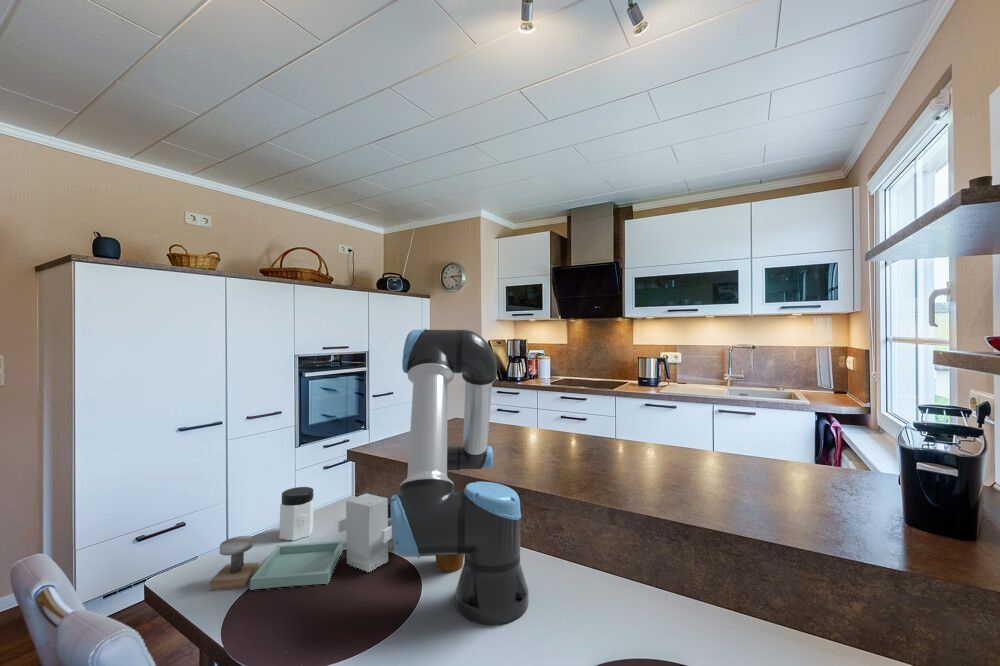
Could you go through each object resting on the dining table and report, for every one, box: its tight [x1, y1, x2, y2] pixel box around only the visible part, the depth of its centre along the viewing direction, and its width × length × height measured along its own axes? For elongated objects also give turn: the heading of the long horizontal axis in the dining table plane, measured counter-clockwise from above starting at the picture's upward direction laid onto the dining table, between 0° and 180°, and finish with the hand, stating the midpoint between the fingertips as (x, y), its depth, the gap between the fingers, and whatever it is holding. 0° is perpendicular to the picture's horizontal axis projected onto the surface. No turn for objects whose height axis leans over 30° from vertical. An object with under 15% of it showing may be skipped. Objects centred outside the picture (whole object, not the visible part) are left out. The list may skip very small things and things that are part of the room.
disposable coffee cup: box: [435, 554, 465, 573], centre depth 100 cm, size 10×10×12 cm
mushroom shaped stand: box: [209, 535, 260, 591], centre depth 93 cm, size 7×7×8 cm
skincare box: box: [345, 493, 389, 573], centre depth 101 cm, size 8×7×16 cm
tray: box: [249, 540, 344, 591], centre depth 98 cm, size 16×16×2 cm
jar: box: [278, 486, 315, 542], centre depth 116 cm, size 9×8×12 cm
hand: (360, 531), depth 99 cm, fingers open, 13 cm apart
